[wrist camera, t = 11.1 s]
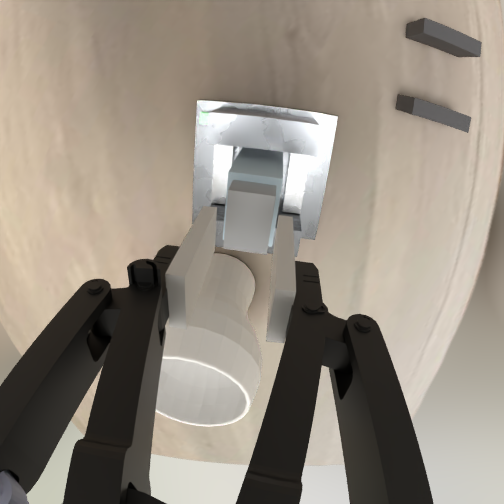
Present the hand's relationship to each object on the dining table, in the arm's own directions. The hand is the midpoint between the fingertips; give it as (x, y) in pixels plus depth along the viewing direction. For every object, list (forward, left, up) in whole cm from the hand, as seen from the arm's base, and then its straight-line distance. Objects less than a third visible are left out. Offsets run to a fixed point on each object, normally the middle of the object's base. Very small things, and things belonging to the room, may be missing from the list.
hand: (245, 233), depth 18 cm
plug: (0, 0, -12) cm, 12 cm away
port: (0, 0, -13) cm, 13 cm away
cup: (+13, -3, -13) cm, 18 cm away
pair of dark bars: (-12, +14, -13) cm, 22 cm away
